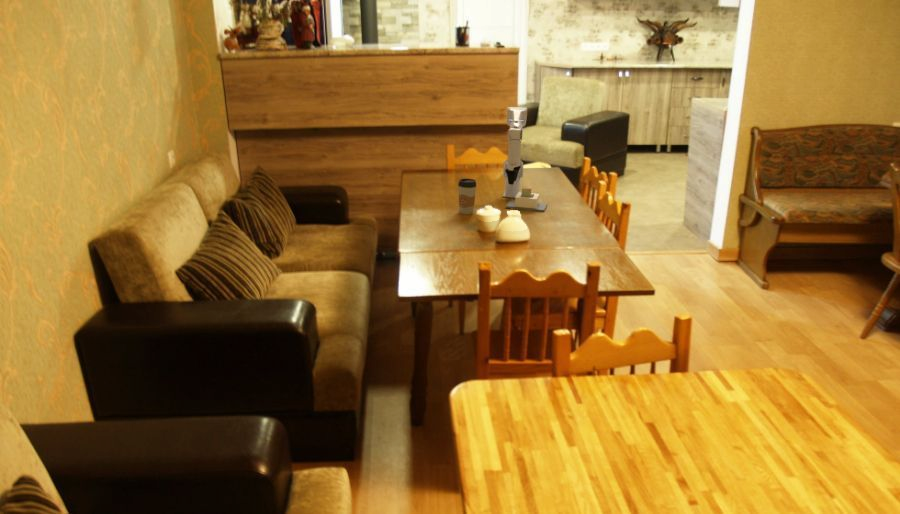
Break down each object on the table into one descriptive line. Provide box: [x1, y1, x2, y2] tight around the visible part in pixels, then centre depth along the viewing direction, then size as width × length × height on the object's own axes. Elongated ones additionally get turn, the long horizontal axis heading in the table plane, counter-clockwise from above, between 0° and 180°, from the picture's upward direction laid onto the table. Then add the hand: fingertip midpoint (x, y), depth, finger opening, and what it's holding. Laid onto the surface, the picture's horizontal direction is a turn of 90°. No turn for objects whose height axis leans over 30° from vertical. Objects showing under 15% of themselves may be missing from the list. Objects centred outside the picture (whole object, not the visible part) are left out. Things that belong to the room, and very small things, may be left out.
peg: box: [521, 186, 532, 198], centre depth 325 cm, size 4×4×8 cm
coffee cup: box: [457, 178, 477, 215], centre depth 312 cm, size 8×8×15 cm
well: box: [505, 191, 548, 213], centre depth 326 cm, size 12×18×6 cm, turn 76°
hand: (512, 182), depth 327 cm, fingers open, 7 cm apart
